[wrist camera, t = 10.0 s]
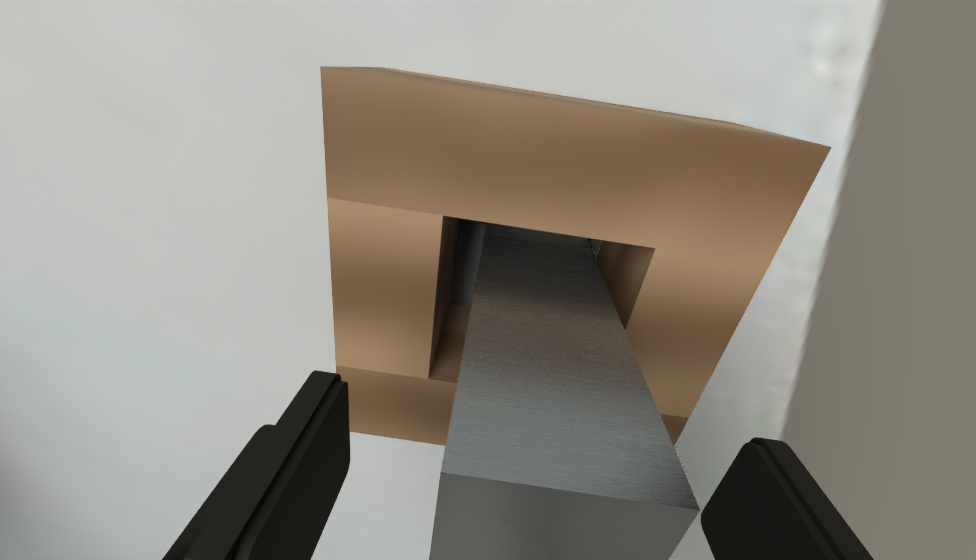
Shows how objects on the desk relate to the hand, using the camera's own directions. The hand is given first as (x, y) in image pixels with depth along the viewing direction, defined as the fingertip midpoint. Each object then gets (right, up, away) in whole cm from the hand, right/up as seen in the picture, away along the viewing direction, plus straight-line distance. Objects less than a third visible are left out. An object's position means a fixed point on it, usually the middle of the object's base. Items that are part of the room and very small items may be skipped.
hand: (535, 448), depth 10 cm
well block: (+1, +5, +9) cm, 10 cm away
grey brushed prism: (+1, +5, +9) cm, 10 cm away
